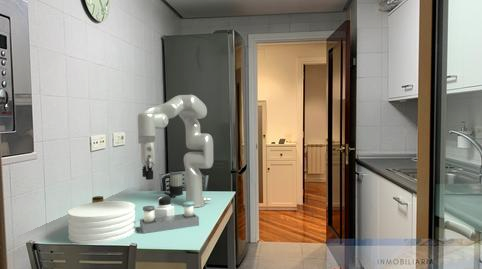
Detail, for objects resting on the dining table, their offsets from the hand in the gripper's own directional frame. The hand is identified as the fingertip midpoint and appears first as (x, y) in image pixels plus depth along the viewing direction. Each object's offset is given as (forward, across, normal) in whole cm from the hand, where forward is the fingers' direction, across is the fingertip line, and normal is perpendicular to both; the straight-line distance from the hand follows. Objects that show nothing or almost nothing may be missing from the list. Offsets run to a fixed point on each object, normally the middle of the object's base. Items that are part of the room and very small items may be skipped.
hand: (147, 177), depth 159 cm
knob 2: (+20, 0, -19) cm, 28 cm away
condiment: (+24, +28, +20) cm, 42 cm away
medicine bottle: (+24, +10, -10) cm, 28 cm away
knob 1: (+21, 0, 0) cm, 21 cm away
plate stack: (+24, +5, +19) cm, 32 cm away
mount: (+24, 0, -10) cm, 26 cm away
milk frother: (+24, +67, -28) cm, 77 cm away
